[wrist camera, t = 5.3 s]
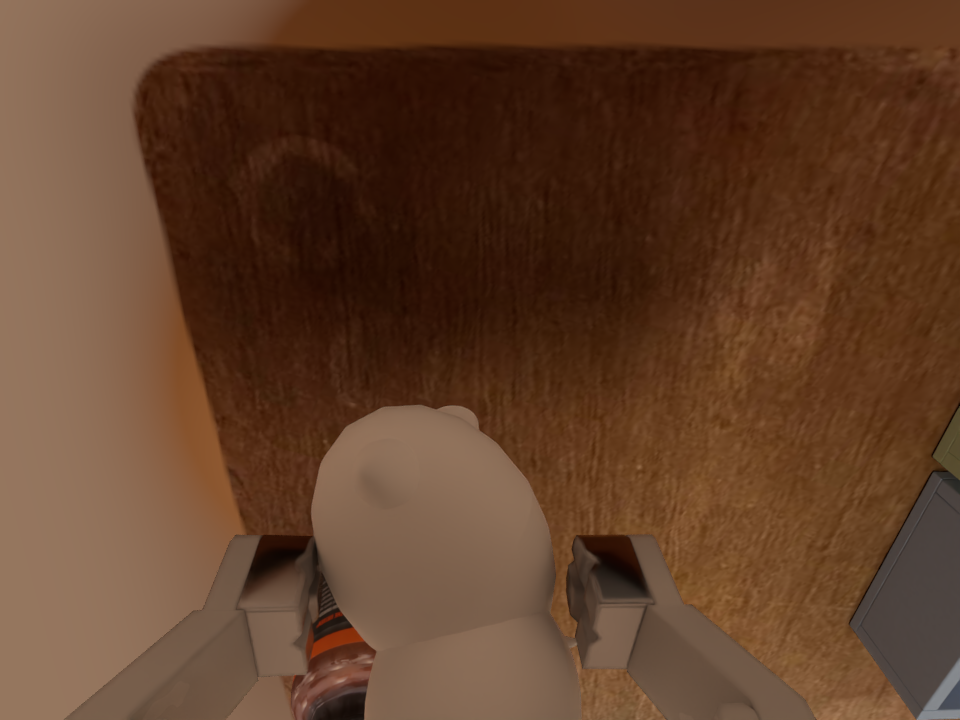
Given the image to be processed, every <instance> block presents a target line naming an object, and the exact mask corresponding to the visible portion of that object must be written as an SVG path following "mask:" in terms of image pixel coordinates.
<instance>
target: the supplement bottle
mask: <svg viewBox="0 0 960 720" xmlns="http://www.w3.org/2000/svg"><path fill="white" fill-rule="evenodd" d="M313 634H314V643H313V648H312V653H311V658H310V663H309V668H308V673H307V675H294V679H293V684H292V692H291V707H292V713H293V716H294V718H295V720H364V713H365V699H366V694H367V688H368V682H369V678H370V674H371V670H372V666H373V662H374V659H375V655H376V652H377V651H376V650H374V649H373V648H372V647H371V646H369V645H368V644H367V643H366V642H365V641H364V640H363V638H362V637H361V636H360V635H359V633H358V632H357V631H356V630H355V628H354V627H353V626H352V625H351V623H350V622H349V621H348V620H347V618H346V617H345V616H344V615H343V613H342V612H341V611H340V609H339V607H338V605H337V603H336V601H335V599H334V597H333V595H332V593H331V590H330V588H329V586H328V584H327V582H326V579H325V577H324V575H323V591H322V601H321V608H320V613H319V618H318V619H317V620H316V621H315V622H314V623H313Z"/></svg>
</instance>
